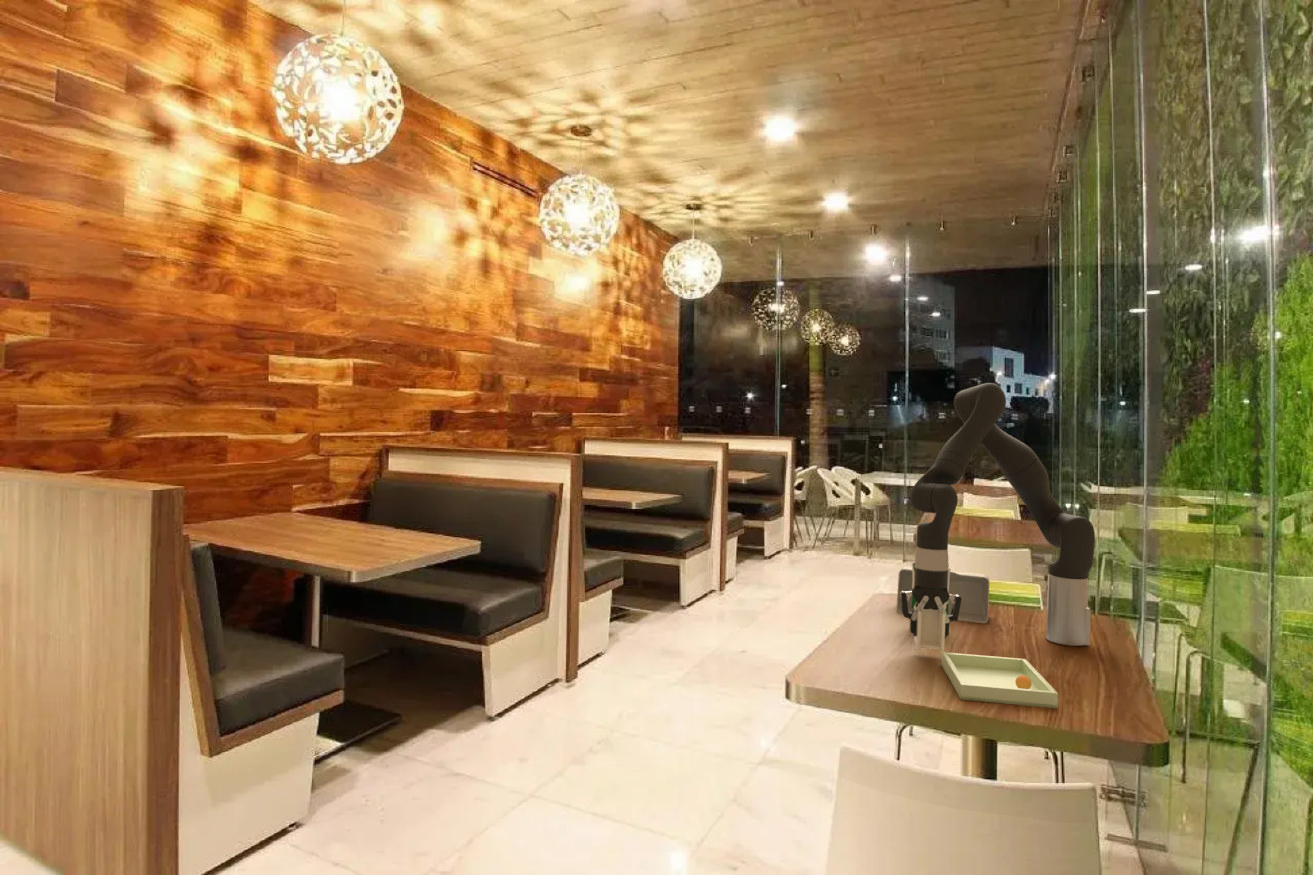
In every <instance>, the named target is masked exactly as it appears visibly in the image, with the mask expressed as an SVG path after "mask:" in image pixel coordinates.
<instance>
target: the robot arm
mask: <svg viewBox="0 0 1313 875" xmlns="http://www.w3.org/2000/svg"><path fill="white" fill-rule="evenodd" d="M953 405H954V409H955V412H956V414H957V416H958V418H959V419H960V420H961V422H962V423H963V425H962V426H961V427H960V428H959V429H958V430H957V431H956V432H955V433H954V434H953V436H951V437H950V438H949V439H948V440H947V441H946V442H945V444H943V447H942V448H941V450H940V451H939V453H938V454H937V457H936V459H935V461H934V463H933V465H932V466H931V467H930V468H929V469H928V470H927V471H925V473H924V474H923V475H922V476H921V477H920V478H918V480H917V482H916V483H915V484H914V485H913V487H912V489H911V492H910V504H911V505H912V507H913V509H914V510H916V511H919V512H925V513H932V514H935V516H934V517H933V520H931V521H923V522H920V523H919V524H918V525H917V527H916V528H917V529H916V549H915V554H914V562H915V571H914V588H913V590H912V591H906V592H905V591H900V598H901V607H902V613H901V614H902V615H903V617H904V618H907V619H909V631H910V633H911V634H912V635H913V637H914V636H917V620H916V619H917V612H918V611H922V609H933V610H937V609H938V610H939V612H940V613H941V615H942V612H943V613H945V614H946V615H945V639H947V637H948V636H949V635H950V623H951V622H957V621H959V620H958V616H959V610H960V605H961V600H962V599H961V597H960V596H959V595H958V594H956V595H953V594H949V593H948V589H947V588H948V567H949V568H950V563H949V550H948V548H949V531H950V528H951V525H952V522H953V517H954V515H955V511H956V509H957V506H958V498H959V497H958V494H957V491H956V489H955V488H954V487H953V485H956V484H957V483H959V482H960V480H961V479H962V477H963V475H964V473H965V471H966V468H967V466H968V464H969V463H970V461H971V458H972V457H973V455H974V453H975V452H976V450H977V448H978V447H979V445H980V444H982V446H983V448H985V449H984V450H986V451H987V453H988V454H989V455H990V457H991V458H992V459H993V461H994V462H995V463H996V466H997V467H998V468H999V469H1000V472H1001V473H1002V475H1003V477H1005V478H1006V480H1007V482H1008V483H1009V484H1010V486H1011V487H1012V488H1013V489H1014V491H1015V492H1016V493H1017V495H1018V496H1019V498H1020V499H1021V501H1022V502H1023V504H1024V505H1025V506H1026V508H1027V510H1029V512H1030V514H1031V515H1032V517H1033V519H1034V521H1035V523H1036V525H1037V526H1038V528H1039V531H1041V532H1040V533H1042V536H1043V537H1044V539H1045V540H1046V542H1048V543H1049V544H1050V545H1051V546H1052V547H1056V548H1059V557H1058V559H1057V560H1055V561H1052V562H1050V563H1049V564H1048V568H1047V570H1048V572H1047V573H1048V574H1047V597H1046V598H1047V600H1046V601H1047V602H1046V621H1045V622H1046V626H1045V627H1046V628H1045V639H1046V640H1048V641H1050V642H1053V643H1055V644H1060V645H1065V646H1072V647H1073V646H1075V647H1078V646H1090V635H1091V634H1090V629H1091V628H1090V627H1091V608H1090V607H1089V606H1088V605H1089V603H1088V602H1089V601H1088V600H1089V598H1088V597H1089V574H1090V571H1091V569H1092V567H1093V562H1094V553H1095V543H1096V537H1095V536H1096V535H1095V534H1096V533H1095V529H1094V526H1093V523H1092V522H1091V521H1090V520H1089V519H1088V518H1086V517H1083V516H1080V515H1075V514H1069V513H1067V512H1065V511H1064V509H1062V507H1061V506H1060V505H1059V504H1058V503H1057V501H1056V500H1055V498H1054V496H1053V494H1052V493H1051V488H1050V479H1049V474H1048V470H1047V469H1046V467H1045V465H1044V464H1043V463H1042V461H1041V460H1040V458H1039V457H1038V455H1037V454H1036V453H1035V451H1034V450H1033V449H1032V448H1031V447H1029V446H1028V445H1027V444H1026V443H1024V442H1022V441H1020V440H1019V439H1017V438H1016V437H1013V436H1012V435H1010V434H1008V433H1007V432H1005V431H1003V430H1002V429H1001V428H1000V427H999V426H998V425H997V424H996V422H997V421H998V420H999V419H1000V417H1001V415H1002V414H1004V411H1005V409H1006V405H1007V398H1006V394H1005V392H1004V391H1003V388H1002V387H1000V386H999V385H998V384H996V383H992V382H985V383H982V384H978V385H976V386H972V387H969V388H966V389H963V390H960V391H959V392H957V393H956V395H954V399H953ZM911 596H913V597H914V599H915V600H916V601H917V602H916V604H915V606H914V608H913V610H912V612H911V613H910V612H908V604H907V601H909V600H910V597H911ZM949 598H950V600H951V603H952V604H953V605H952V611H951V615H947V613H946V611H945V609H944V606H943V605H944V604H945V602H946V601H947V600H948V599H949Z"/></svg>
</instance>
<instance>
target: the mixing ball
mask: <svg viewBox="0 0 1313 875" xmlns="http://www.w3.org/2000/svg"><path fill="white" fill-rule="evenodd" d="M1031 685H1032V683H1031V680H1030V679H1029V678H1028V677H1027V676H1024V675H1021V676H1018V677H1017V678H1016V686H1017V687H1018V688H1022V689H1030V688H1031Z"/></svg>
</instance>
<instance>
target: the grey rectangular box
mask: <svg viewBox="0 0 1313 875" xmlns="http://www.w3.org/2000/svg"><path fill="white" fill-rule="evenodd" d="M897 578H898V580H897V581H898V582H897V595H896V611H897V612H898V613H899V614H902V607H901V598H900V591H905V592H906V591H912V583H913V575H912V566H902V567H901V568H900V570H899V572H898V577H897ZM949 594H953V595H956V594H958V595H959V596H960V597H961V599H962V600H961V605H960V610H959V616H958V620H957V621H961V622H970V623H979V624H986V623H988V621H989V613H990V609H989V608H990V578H989V576H988V575H987V574H984V573H977V572H976V573H974V572H964V571H956V570H954V571H953V570H950V578H949ZM907 604H908V612H910V613H911V612H912V596H911V597H910V600H909V601H907ZM952 605H953V604H952V603H951V600H950V598H949V603H948V615H951V611H952Z"/></svg>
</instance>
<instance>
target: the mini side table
mask: <svg viewBox="0 0 1313 875" xmlns="http://www.w3.org/2000/svg"><path fill="white" fill-rule="evenodd" d="M945 615H946V614H945V613H943V612H942V615H941V613H940V612H939V610H938V609H937V610H933V609H922V611H918V612H917V619H916V620H917V636H913V645H914V646H915V648H916V650H917V651H920V650H921V649H927V650H939V651H940V652H941V653H942V652H945Z"/></svg>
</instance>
